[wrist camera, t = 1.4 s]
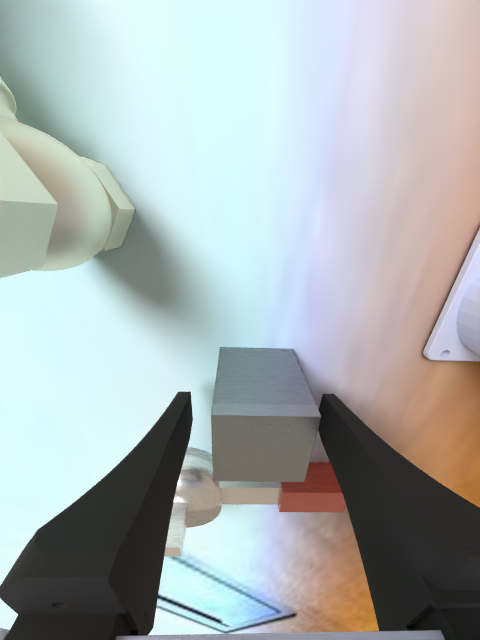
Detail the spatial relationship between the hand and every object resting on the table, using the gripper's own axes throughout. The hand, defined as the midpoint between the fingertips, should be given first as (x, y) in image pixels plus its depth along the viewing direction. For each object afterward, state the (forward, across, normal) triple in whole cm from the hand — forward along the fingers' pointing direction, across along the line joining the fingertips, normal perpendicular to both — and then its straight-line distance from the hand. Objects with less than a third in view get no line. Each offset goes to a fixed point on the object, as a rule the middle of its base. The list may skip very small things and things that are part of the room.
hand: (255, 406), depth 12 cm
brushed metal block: (+2, 0, 0) cm, 2 cm away
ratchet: (+2, 0, +10) cm, 10 cm away
